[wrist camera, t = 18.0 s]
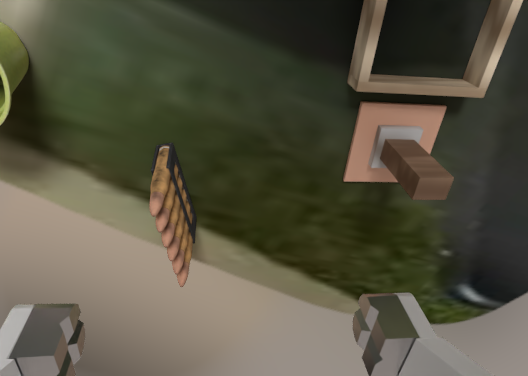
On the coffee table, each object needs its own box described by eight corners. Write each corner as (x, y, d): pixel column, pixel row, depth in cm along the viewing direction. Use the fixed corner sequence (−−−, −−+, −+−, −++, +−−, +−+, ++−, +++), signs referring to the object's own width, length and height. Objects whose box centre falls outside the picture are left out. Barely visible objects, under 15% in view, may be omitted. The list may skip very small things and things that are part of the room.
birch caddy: (380, -79, 33) (394, -80, 30) (523, -61, 35) (548, -62, 32) (347, 82, 40) (356, 91, 38) (467, 88, 42) (483, 97, 40)
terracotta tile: (360, 101, 42) (362, 102, 41) (444, 105, 43) (446, 106, 43) (342, 179, 47) (344, 181, 46) (417, 180, 48) (419, 182, 48)
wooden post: (378, 124, 43) (416, 165, 35) (419, 126, 44) (466, 166, 36) (368, 163, 46) (401, 210, 38) (407, 164, 46) (447, 209, 38)
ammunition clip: (196, 218, 47) (193, 291, 37) (182, 220, 47) (174, 294, 37) (172, 142, 42) (161, 204, 32) (156, 145, 42) (139, 209, 32)
